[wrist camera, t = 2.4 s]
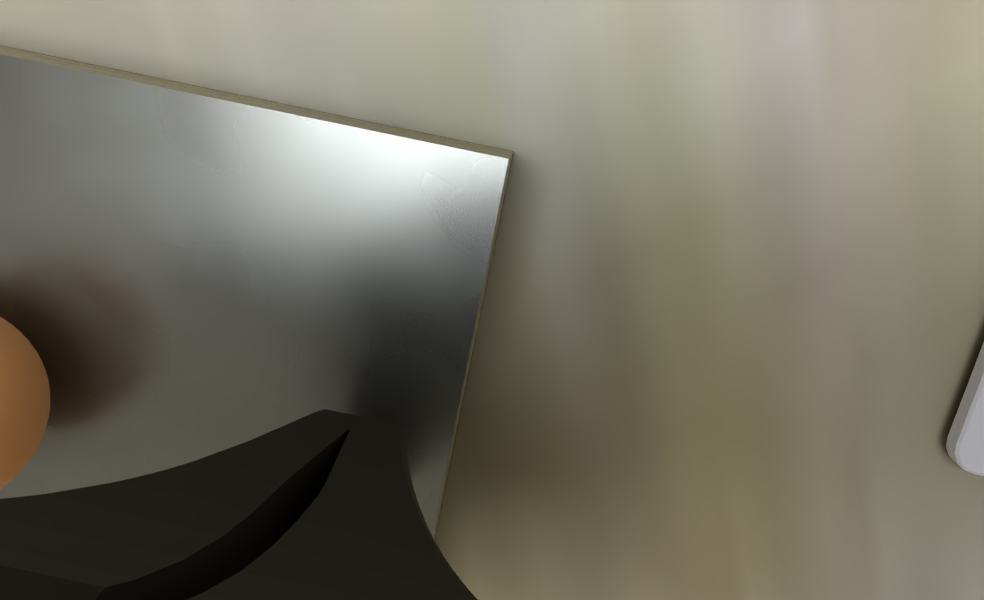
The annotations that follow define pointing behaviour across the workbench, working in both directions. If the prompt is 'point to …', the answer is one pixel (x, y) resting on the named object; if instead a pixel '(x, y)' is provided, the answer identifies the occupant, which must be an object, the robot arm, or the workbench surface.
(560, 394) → the workbench surface
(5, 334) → the ball
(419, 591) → the robot arm
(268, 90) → the workbench surface
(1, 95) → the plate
